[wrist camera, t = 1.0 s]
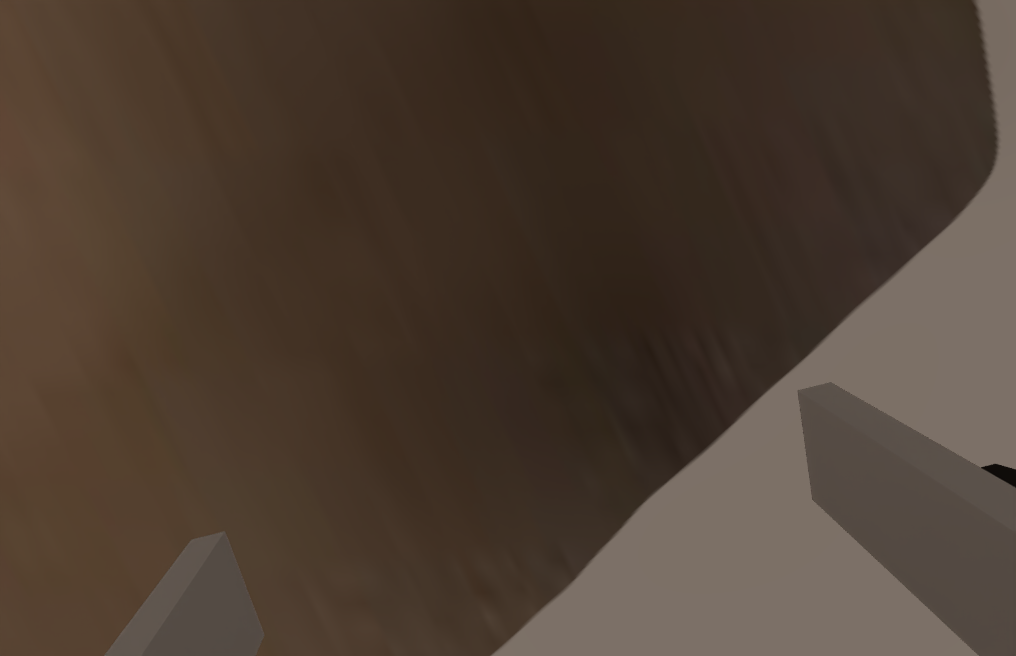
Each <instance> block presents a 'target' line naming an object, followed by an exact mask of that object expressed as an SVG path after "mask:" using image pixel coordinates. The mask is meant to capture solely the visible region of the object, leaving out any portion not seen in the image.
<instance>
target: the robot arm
mask: <svg viewBox="0 0 1016 656" xmlns="http://www.w3.org/2000/svg"><path fill="white" fill-rule="evenodd" d="M798 397H799V404H800V411H801V419H802V426H803V434H804V441H805V448H806V455H807V463H808V471H809V478H810V485H811V493H812V499H813V501H815V502H816V503H817V504H818V505H819V506H820V507H821V508H822V509H823V510H824V511H825V512H826V513H827V514H829V516H831V517H832V518H833V519H834V520H835V521H836V522H837V523H838V524H839V525H840V526H841V527H842V528H843V529H844V530H845V531H847V532H848V533H849V534H850V535H851V536H852V537H853V538H854V539H855V540H856V541H857V542H858V543H859V544H860V545H862V546H863V547H864V548H865V549H866V550H867V551H868V552H869V553H870V554H871V555H872V556H873V557H874V558H875V559H876V560H878V562H880V563H881V564H882V565H883V566H884V567H885V568H886V569H887V570H888V571H889V572H890V573H891V574H893V576H895V577H896V578H897V579H898V580H899V581H900V582H901V583H902V584H903V585H904V586H905V587H906V588H907V589H908V590H910V591H911V592H912V593H913V594H914V595H915V596H916V597H917V598H918V599H919V600H920V601H921V602H922V603H923V604H924V605H925V606H927V607H928V608H929V609H930V610H931V611H932V612H933V613H934V614H935V615H936V616H937V617H938V618H939V619H940V620H941V621H942V622H944V623H945V624H946V625H947V626H948V627H949V628H950V629H951V630H952V631H953V632H954V633H956V635H957V636H958V637H960V638H961V639H962V640H963V641H964V642H965V643H966V644H967V645H968V646H969V647H970V648H971V649H972V650H974V652H976V653H977V654H978V655H979V656H1016V469H1012V468H1008V467H1005V466H1002V465H998V464H993V465H989V466H985V467H981V468H980V467H978V466H977V465H975V464H973V463H971V462H970V461H968V460H966V459H964V458H963V457H961V456H959V455H957V454H956V453H954V452H952V451H950V450H948V449H947V448H945V447H943V446H941V445H940V444H938V443H936V442H934V441H933V440H931V439H929V438H928V437H926V436H924V435H922V434H920V433H919V432H917V431H915V430H913V429H912V428H910V427H908V426H906V425H904V424H903V423H901V422H899V421H898V420H896V419H894V418H892V417H891V416H889V415H887V414H885V413H884V412H882V411H880V410H878V409H877V408H875V407H873V406H871V405H870V404H868V403H866V402H864V401H863V400H861V399H859V398H857V397H855V396H854V395H852V394H850V393H848V392H847V391H845V390H843V389H842V388H840V387H838V386H836V385H835V384H833V383H827V384H823V385H818V386H814V387H810V388H806V389H802V390H798ZM263 637H264V633H263V630H262V628H261V625H260V622H259V620H258V617H257V614H256V612H255V609H254V607H253V604H252V601H251V599H250V596H249V593H248V591H247V588H246V585H245V583H244V580H243V578H242V575H241V572H240V570H239V567H238V564H237V562H236V559H235V557H234V554H233V551H232V549H231V546H230V543H229V541H228V538H227V535H226V533H225V532H221V533H217V534H213V535H209V536H205V537H200V538H196V539H192V540H191V541H190V542H189V544H188V545H187V546H186V548H185V549H184V550H183V552H182V553H181V554H180V556H179V557H178V558H177V560H176V561H175V562H174V564H173V565H172V566H171V568H170V569H169V570H168V572H167V573H166V574H165V576H164V577H163V578H162V579H161V581H160V582H159V583H158V585H157V586H156V587H155V589H154V590H153V591H152V593H151V594H150V595H149V597H148V598H147V599H146V601H145V602H144V603H143V605H142V606H141V607H140V609H139V610H138V611H137V613H136V614H135V615H134V617H133V618H132V619H131V621H130V622H129V623H128V625H127V626H126V627H125V629H124V630H123V631H122V633H121V634H120V635H119V637H118V638H117V639H116V641H115V642H114V643H113V645H112V646H111V647H110V649H109V650H108V651H107V653H106V654H105V655H104V656H255V655H256V653H257V651H258V648H259V646H260V644H261V642H262V639H263Z"/></svg>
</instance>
